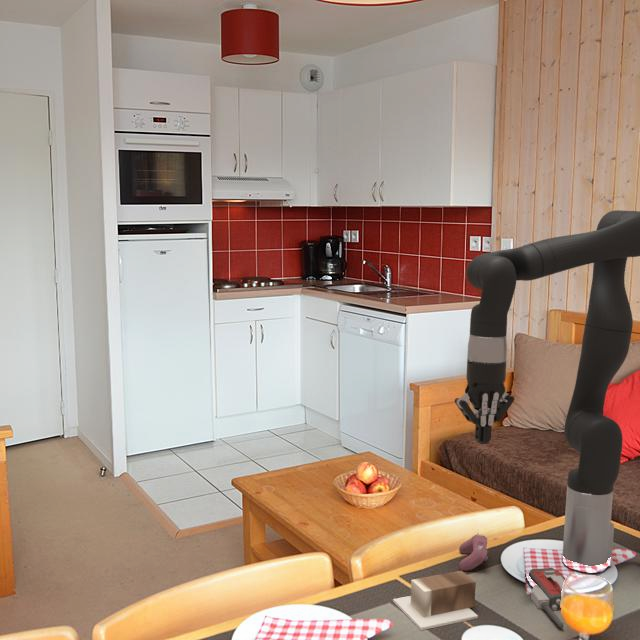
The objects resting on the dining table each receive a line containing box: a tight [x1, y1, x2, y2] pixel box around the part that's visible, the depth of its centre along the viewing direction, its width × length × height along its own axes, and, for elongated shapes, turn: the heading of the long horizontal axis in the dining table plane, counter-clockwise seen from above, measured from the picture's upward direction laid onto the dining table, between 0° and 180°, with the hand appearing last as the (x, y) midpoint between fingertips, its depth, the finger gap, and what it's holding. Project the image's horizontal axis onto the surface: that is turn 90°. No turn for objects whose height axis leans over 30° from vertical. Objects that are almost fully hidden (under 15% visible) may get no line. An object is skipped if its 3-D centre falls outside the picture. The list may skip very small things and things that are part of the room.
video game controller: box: [458, 533, 489, 572], centre depth 169 cm, size 10×5×7 cm, turn 170°
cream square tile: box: [392, 595, 479, 631], centre depth 150 cm, size 12×11×1 cm
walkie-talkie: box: [524, 567, 566, 629], centre depth 153 cm, size 9×4×20 cm
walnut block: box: [410, 570, 477, 617], centre depth 150 cm, size 5×5×11 cm
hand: (482, 442), depth 157 cm, fingers closed
